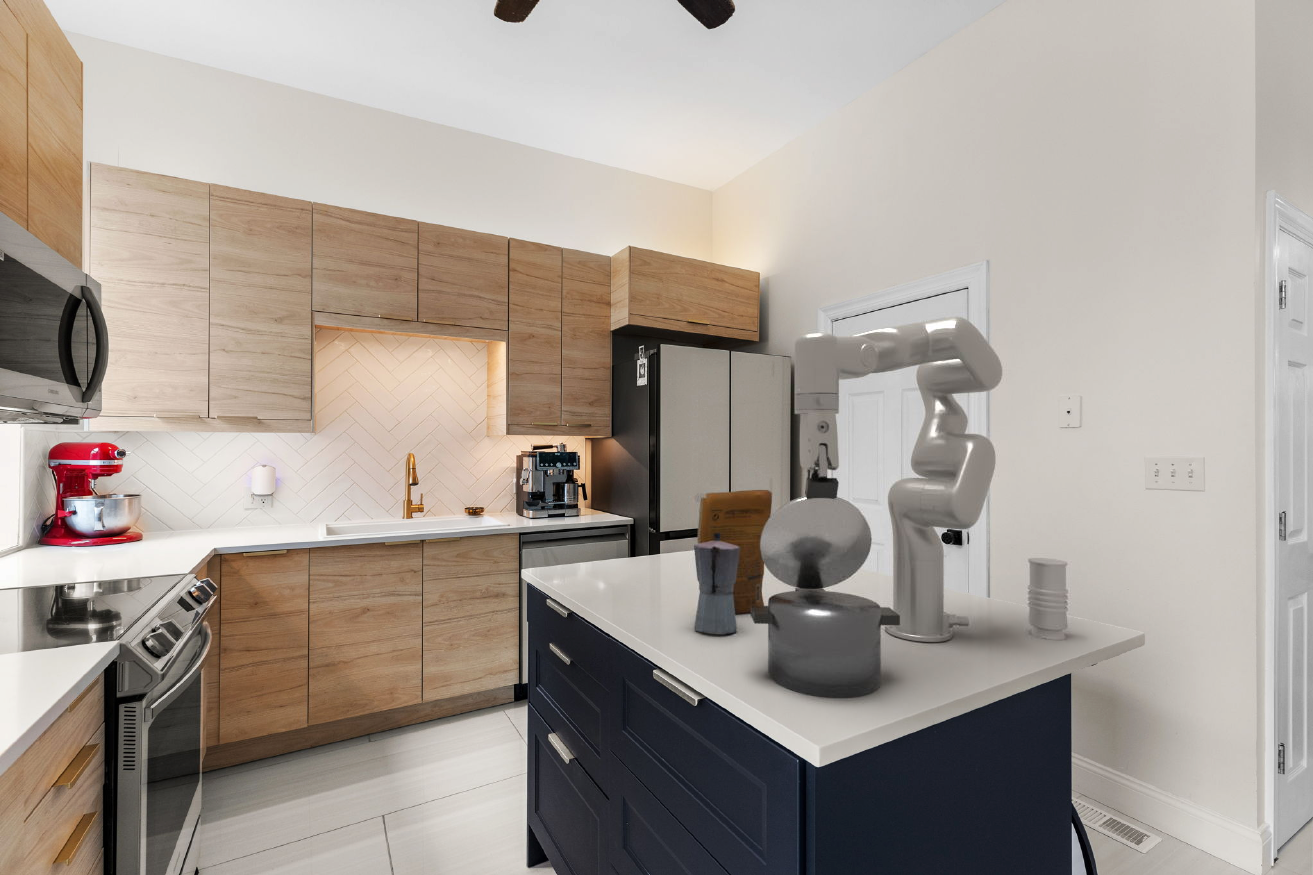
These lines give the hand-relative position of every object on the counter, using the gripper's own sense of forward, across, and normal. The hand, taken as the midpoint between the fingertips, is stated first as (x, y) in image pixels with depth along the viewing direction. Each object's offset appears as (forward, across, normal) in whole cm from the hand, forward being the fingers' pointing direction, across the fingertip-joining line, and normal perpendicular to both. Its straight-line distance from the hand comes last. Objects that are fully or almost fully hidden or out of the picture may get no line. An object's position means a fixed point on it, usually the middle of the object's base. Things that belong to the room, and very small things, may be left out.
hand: (816, 510), depth 108 cm
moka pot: (+27, +19, +16) cm, 37 cm away
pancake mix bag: (+27, +33, +12) cm, 44 cm away
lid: (+5, 0, 0) cm, 5 cm away
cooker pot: (+27, -5, 0) cm, 27 cm away
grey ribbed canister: (+27, +20, -51) cm, 61 cm away
